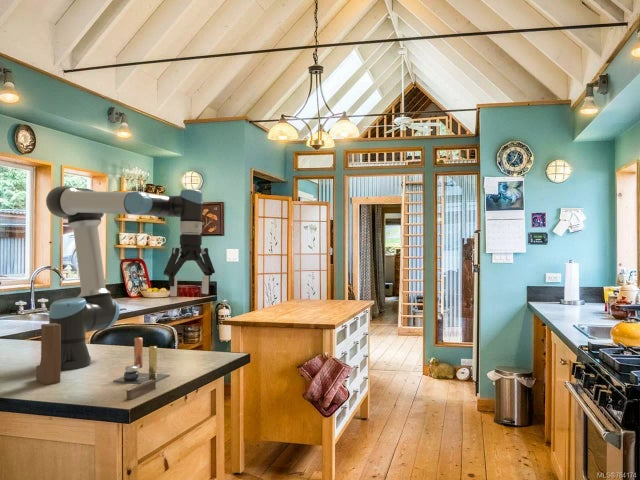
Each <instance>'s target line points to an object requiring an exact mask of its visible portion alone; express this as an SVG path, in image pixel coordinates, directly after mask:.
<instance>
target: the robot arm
mask: <svg viewBox="0 0 640 480" xmlns="http://www.w3.org/2000/svg"><path fill="white" fill-rule="evenodd" d="M45 204H46V208H47V210H48V211H49V212H50V213H51V214H52V215H54V216H56V217H58V218H63V219H67V224H68V226H69V227H70V228H71V229H72V230H73V236H74V238H73V239H74V245H75V253H76V260H77V267H78V269H77V270H78V276H79V284H80V285H79V286H80V293H79V295H77V296H76V297H68V298H67V297H65V298H61V299H57V300H55V301H53V302H51V304H50V305H49V313H48V318H49V319H48V321H49V323H48V324H51V323H57V324H60V325H61V371H69V370H77V369H81V368H85V367H89V366H90V365H91V364H92V358H91V356H90V352H89V349H88V346H87V341H86V339H87V337H86V333H90V332H96V331H97V332H98V331H104V330H105V329H106V330H107V329H109V328H111V327H112V326H114V325H115V324H116V322H117V321H118V319H119V316H120V305H119V304H118V302H117V301H116V299H114V298H112V293H111V291H110V290H108V289H107V288H106V279H105V273H104V265H103V257H102V256H103V255H102V250H101V240H100V233H99V228H98V227H99V225H100V224H101V223H102V218H103V217H104V215H105V214H115V215H133V216H135V215H136V216H152V217H155V218H156V217H157V218H175V217H177V218H179V232H180V235H179V246H180V247H172V249H171V254H170V257H169V258H168V261H167V264H166V266H165V268H164V271H163V276H164V275H165V276H166V277H168V286H169V287H170V288H169V297H177V296H178V276H176V275H178V272H180V270H181V268H182V267H183V265H184V264H185V263H186V262H187V261H188V262H189V261H190V262H191V261H194V262H195V263H196V265H197V266H198V267H199V269H200V270H201V272H202V273H203V275H201V294H204V295H209V285H210V284H211V276H212V275H213V274H215V273H216V271H215V268H214V266H213V262H212V260H211V257H210V254H209V248H208V247H201V246H202V245H203V235H202V233H203V204H204V202H203V192H202V191H201V190H198V189H191V188H190V189H187V188H186V189H182V190H181V191H180V194H179V195H164V194H157V193H150V192H145V191H138V190H137V191H135V190H134V191H100V190H99V191H97V190H93V189H90V188H80V187H71V186H68V185H67V186H66V185H65V186H64V185H63V186H62V185H59V186H56V187H54V188H52V189H51V190H50V191H49V192H48V193H47V195H46V199H45Z"/></svg>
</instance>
